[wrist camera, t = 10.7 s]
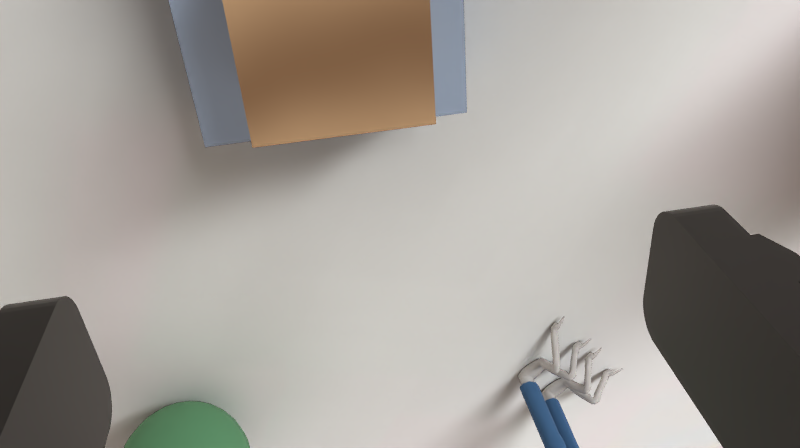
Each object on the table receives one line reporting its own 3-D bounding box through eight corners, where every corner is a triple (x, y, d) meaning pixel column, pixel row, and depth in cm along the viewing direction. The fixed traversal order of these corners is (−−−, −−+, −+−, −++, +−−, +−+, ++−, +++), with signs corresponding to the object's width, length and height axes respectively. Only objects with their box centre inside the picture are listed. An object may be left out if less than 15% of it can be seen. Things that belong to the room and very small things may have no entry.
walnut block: (225, -83, 22) (212, -48, 18) (396, -101, 23) (426, -71, 18) (256, 81, 25) (252, 147, 21) (407, 63, 26) (435, 123, 21)
